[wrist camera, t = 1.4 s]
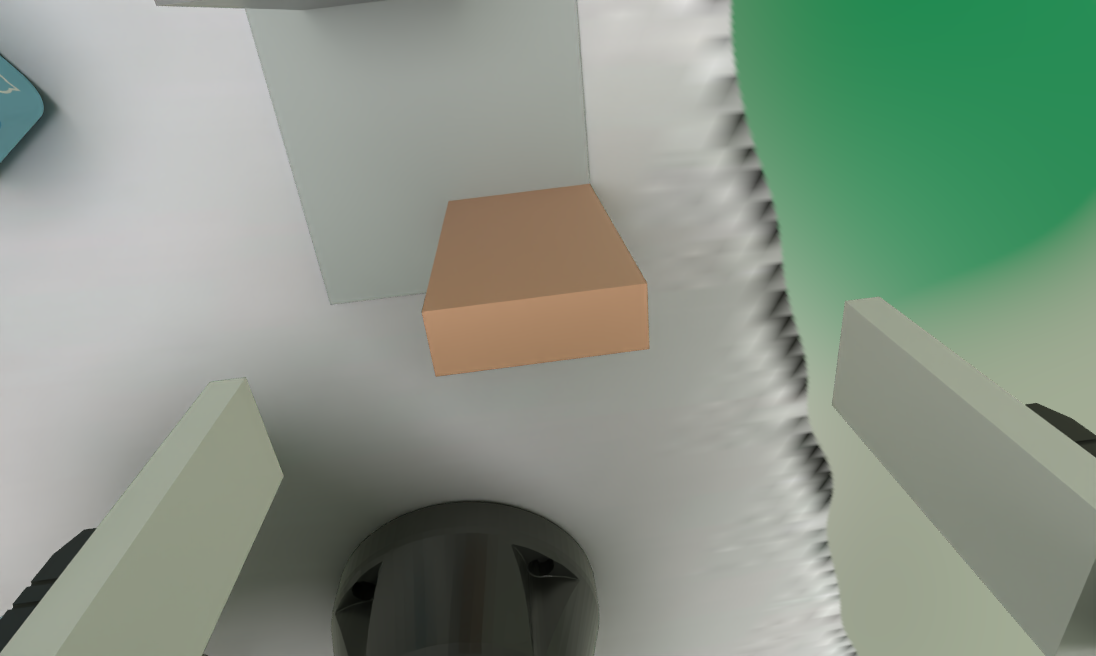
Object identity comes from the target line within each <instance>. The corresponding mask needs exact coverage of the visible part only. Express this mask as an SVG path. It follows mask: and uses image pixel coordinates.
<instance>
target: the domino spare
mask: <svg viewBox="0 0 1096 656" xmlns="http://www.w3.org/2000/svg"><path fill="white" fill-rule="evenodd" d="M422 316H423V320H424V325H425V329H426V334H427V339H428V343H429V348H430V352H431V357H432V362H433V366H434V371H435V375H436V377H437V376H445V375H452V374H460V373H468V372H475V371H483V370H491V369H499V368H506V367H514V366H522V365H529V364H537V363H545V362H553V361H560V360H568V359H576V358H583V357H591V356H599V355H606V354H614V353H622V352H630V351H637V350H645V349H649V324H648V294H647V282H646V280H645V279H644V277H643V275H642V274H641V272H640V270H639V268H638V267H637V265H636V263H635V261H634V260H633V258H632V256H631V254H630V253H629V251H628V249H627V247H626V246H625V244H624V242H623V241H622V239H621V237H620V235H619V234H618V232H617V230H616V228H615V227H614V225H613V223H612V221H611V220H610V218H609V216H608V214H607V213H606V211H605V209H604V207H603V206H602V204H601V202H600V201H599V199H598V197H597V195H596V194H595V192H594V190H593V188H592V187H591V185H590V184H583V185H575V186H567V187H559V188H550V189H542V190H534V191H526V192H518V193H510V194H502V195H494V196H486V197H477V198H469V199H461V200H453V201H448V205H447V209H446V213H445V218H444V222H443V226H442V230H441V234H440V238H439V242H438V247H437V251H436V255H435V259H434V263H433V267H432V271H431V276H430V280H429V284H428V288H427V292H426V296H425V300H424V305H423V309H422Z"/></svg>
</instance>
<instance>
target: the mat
mask: <svg viewBox="0 0 1096 656" xmlns="http://www.w3.org/2000/svg"><path fill="white" fill-rule="evenodd" d="M245 11H246V14H247V18H248V21H249V25H250V28H251V32H252V35H253V38H254V42H255V45H256V49H257V52H258V56H259V59H260V63H261V66H262V70H263V73H264V76H265V80H266V83H267V87H268V90H269V94H270V97H271V101H272V104H273V108H274V111H275V114H276V118H277V121H278V125H279V128H280V132H281V135H282V139H283V142H284V146H285V149H286V152H287V156H288V159H289V163H290V166H291V170H292V173H293V177H294V180H295V184H296V187H297V190H298V194H299V197H300V201H301V204H302V208H303V211H304V215H305V218H306V221H307V225H308V228H309V232H310V235H311V239H312V242H313V246H314V249H315V253H316V256H317V259H318V263H319V266H320V270H321V273H322V277H323V280H324V284H325V287H326V291H327V294H328V297H329V301H330V304H331V305H334V304H342V303H350V302H358V301H366V300H374V299H382V298H390V297H398V296H405V295H413V294H421V293H426V292H427V288H428V284H429V280H430V276H431V271H432V267H433V263H434V259H435V255H436V251H437V247H438V242H439V238H440V234H441V230H442V226H443V222H444V218H445V213H446V209H447V205H448V201H453V200H461V199H469V198H477V197H486V196H494V195H502V194H510V193H518V192H526V191H534V190H542V189H550V188H559V187H567V186H575V185H583V184H590V180H589V166H588V153H587V139H586V125H585V112H584V98H583V84H582V71H581V57H580V44H579V30H578V16H577V3H576V0H386V1H377V2H369V3H360V4H351V5H343V6H334V7H325V8H317V9H308V10H281V9H248V8H245Z"/></svg>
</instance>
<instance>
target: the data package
mask: <svg viewBox="0 0 1096 656" xmlns="http://www.w3.org/2000/svg"><path fill="white" fill-rule="evenodd" d="M43 111H44V105H43V101H42V99H41V96H40V95H39V93H38V91H37V90H36V89H35V87H34V86H33V85H32V84H31V83H30V82H29V81H28V80H27V78H25V77H24V76H23V75H22V74H21V73H20V72H19V71H18V70H16V69H15V68H14V67H13V66H12V65H11V64H10V63H8V62H7V61H6V60H5V59H4V58H3V57H1V56H0V163H1V161H2V160H3V159H4V158H5V157H6V156H7V155H8V153H9V152H10V151H11V150H12V149H13V148H14V147H15V146H16V144H17V143H18V142H19V141H20V140H21V139H22V138H23V137H24V135H25V134H26V133H27V132H28V131H29V130H30V129H31V127H32V126H33V125H34V124H35V123H36V122H37V121H38V120H39V118H40V117H41V116H42V114H43Z"/></svg>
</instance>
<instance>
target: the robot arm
mask: <svg viewBox="0 0 1096 656" xmlns="http://www.w3.org/2000/svg"><path fill="white" fill-rule="evenodd" d="M832 406H833V407H834V408H835V409H836V410H837V411H838V413H839V414H840V415H841V416H842V417H843V419H844V420H845V421H846V422H847V423H848V425H849V426H850V427H851V428H852V429H853V430H854V432H855V433H856V434H857V435H858V436H859V437H860V439H861V440H862V441H863V442H864V443H865V444H866V446H867V447H868V448H869V449H870V450H871V451H872V453H873V454H874V455H875V456H876V457H877V459H878V460H879V461H880V462H881V463H882V464H883V466H884V467H885V468H886V469H887V470H888V471H889V473H890V474H891V475H892V476H893V477H894V478H895V480H896V481H897V482H898V483H899V484H900V485H901V487H902V488H903V489H904V490H905V491H906V493H907V494H908V495H909V496H910V497H911V498H912V499H913V501H914V502H915V503H916V504H917V505H918V507H919V508H920V509H921V510H922V511H923V513H924V514H925V515H926V516H927V517H928V518H929V519H930V521H931V522H932V523H933V524H934V525H935V527H936V528H937V529H938V530H939V531H940V532H941V533H942V535H943V536H944V537H945V538H946V540H947V541H948V542H949V543H950V544H951V545H952V546H953V548H954V549H955V550H956V551H957V552H958V553H959V555H960V556H961V557H962V558H963V559H964V560H965V562H966V563H967V564H968V565H969V566H970V568H971V569H972V570H973V571H974V572H975V573H976V575H977V576H978V577H979V578H980V579H981V580H982V582H983V583H984V584H985V585H986V586H987V588H988V589H989V590H990V591H991V592H992V593H993V595H994V596H995V597H996V598H997V599H998V601H999V602H1000V603H1001V604H1002V605H1003V606H1004V608H1005V609H1006V610H1007V611H1008V612H1009V613H1010V614H1011V616H1012V617H1013V618H1014V619H1015V620H1016V622H1017V623H1018V624H1019V625H1020V626H1021V627H1022V629H1023V630H1024V631H1025V632H1026V633H1027V635H1028V636H1029V637H1030V638H1031V639H1032V640H1033V641H1034V643H1035V644H1036V645H1037V646H1038V647H1039V649H1040V650H1041V651H1042V652H1043V653H1044V654H1045V656H1096V435H1094V434H1093V433H1092V432H1090V431H1089V430H1088V429H1086V428H1084V427H1083V426H1082V425H1080V424H1079V423H1078V422H1076V421H1075V420H1073V419H1072V418H1070V417H1067V416H1065V415H1063V414H1060V413H1058V412H1056V411H1053V410H1051V409H1049V408H1047V407H1044V406H1042V405H1040V404H1037V403H1033V404H1026V405H1024V404H1023V403H1021V402H1020V401H1019V400H1018V399H1016V398H1015V397H1013V396H1012V395H1011V394H1009V393H1008V392H1006V391H1005V390H1004V389H1002V388H1001V387H1000V386H999V385H997V384H996V383H995V382H993V381H992V380H991V379H989V378H988V377H987V376H985V375H984V374H983V373H981V372H980V371H979V370H977V369H976V368H975V367H973V366H972V365H970V364H969V363H968V362H966V361H965V360H964V359H962V358H961V357H960V356H958V355H957V354H956V353H954V352H953V351H952V350H950V349H949V348H948V347H946V346H945V345H944V344H942V343H941V342H940V341H938V340H937V339H936V338H934V337H933V336H932V335H930V334H929V333H928V332H926V331H925V330H923V329H922V328H921V327H919V326H918V325H917V324H915V323H914V322H913V321H911V320H910V319H909V318H907V317H906V316H905V315H903V314H902V313H901V312H899V311H898V310H897V309H895V308H894V307H893V306H891V305H890V304H888V303H887V302H886V301H885V300H883V299H882V298H880V297H873V298H865V299H857V300H849V301H845V306H844V313H843V322H842V329H841V337H840V345H839V353H838V362H837V369H836V376H835V384H834V392H833V400H832ZM283 477H284V475H283V473H282V470H281V468H280V465H279V462H278V460H277V457H276V455H275V452H274V450H273V447H272V444H271V442H270V439H269V437H268V434H267V431H266V429H265V426H264V424H263V421H262V418H261V416H260V413H259V411H258V408H257V405H256V403H255V400H254V398H253V395H252V392H251V390H250V387H249V385H248V382H247V379H246V377H244V378H236V379H228V380H221V381H213V382H210V383H209V384H208V385H207V386H206V388H205V389H204V390H203V392H202V393H201V394H200V396H199V397H198V398H197V399H196V401H195V402H194V403H193V405H192V406H191V407H190V408H189V410H188V411H187V412H186V414H185V415H184V416H183V417H182V419H181V420H180V421H179V423H178V424H177V425H176V427H175V428H174V429H173V430H172V432H171V433H170V434H169V436H168V437H167V438H166V439H165V441H164V442H163V443H162V445H161V446H160V447H159V448H158V450H157V451H156V452H155V454H154V455H153V456H152V458H151V459H150V460H149V461H148V463H147V464H146V465H145V467H144V468H143V469H142V470H141V472H140V473H139V474H138V476H137V477H136V478H135V479H134V481H133V482H132V483H131V485H130V486H129V487H128V489H127V490H126V491H125V492H124V494H123V495H122V496H121V498H120V499H119V500H118V501H117V503H116V504H115V505H114V507H113V508H112V509H111V510H110V512H109V513H108V514H107V516H106V517H105V518H104V520H103V521H102V522H101V523H100V525H99V526H98V527H97V528H93V529H86V530H83V531H82V532H81V533H79V534H78V535H77V536H76V537H74V538H73V539H72V540H71V541H69V542H68V543H67V544H66V545H64V546H63V547H62V548H61V549H59V550H58V551H57V552H56V553H54V554H53V555H52V557H51V558H50V559H49V560H48V562H47V563H46V564H45V565H44V566H43V568H42V569H41V570H40V571H39V573H38V574H37V575H36V576H35V577H34V579H33V580H32V581H31V583H32V584H31V586H30V587H26V588H25V590H24V591H23V592H22V593H21V595H20V596H19V597H18V598H17V599H16V601H15V602H14V603H13V608H12V610H7V612H6V613H5V614H4V615H3V616H1V617H0V656H208V655H205V654H203V652H204V650H205V648H206V645H207V643H208V641H209V639H210V637H211V634H212V632H213V630H214V628H215V626H216V624H217V621H218V619H219V617H220V615H221V613H222V610H223V608H224V606H225V604H226V602H227V600H228V597H229V595H230V593H231V591H232V589H233V586H234V584H235V582H236V580H237V578H238V576H239V573H240V571H241V569H242V567H243V565H244V562H245V560H246V558H247V556H248V554H249V551H250V549H251V547H252V545H253V543H254V541H255V538H256V536H257V534H258V532H259V530H260V527H261V525H262V523H263V521H264V519H265V517H266V514H267V512H268V510H269V508H270V506H271V503H272V501H273V499H274V497H275V495H276V492H277V490H278V488H279V486H280V484H281V482H282V479H283ZM598 628H599V604H598V599H597V593H596V587H595V582H594V576H593V572H592V568H591V566H590V563H589V561H588V559H587V557H586V555H585V554H584V552H583V551H582V549H581V548H580V547H579V545H578V544H577V543H576V542H575V541H574V540H573V539H572V538H571V537H570V536H569V535H568V534H567V533H566V532H565V531H563V530H562V529H561V528H559V527H558V526H556V525H555V524H553V523H552V522H550V521H548V520H546V519H544V518H542V517H540V516H538V515H536V514H533V513H531V512H528V511H525V510H522V509H519V508H515V507H511V506H506V505H501V504H493V503H483V502H460V503H449V504H442V505H436V506H432V507H427V508H424V509H420V510H417V511H414V512H411V513H408V514H406V515H403V516H401V517H399V518H397V519H395V520H393V521H391V522H389V523H387V524H386V525H384V526H382V527H381V528H379V529H378V530H376V531H375V532H374V533H372V534H371V535H370V536H369V537H368V538H367V539H365V540H364V541H363V542H362V543H361V544H360V546H359V547H358V548H357V549H356V550H355V552H354V553H353V554H352V556H351V557H350V559H349V560H348V562H347V564H346V566H345V568H344V571H343V574H342V576H341V580H340V584H339V588H338V591H337V595H336V599H335V602H334V607H333V612H332V621H331V633H332V642H333V652H334V656H594V651H595V645H596V640H597V634H598Z"/></svg>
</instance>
